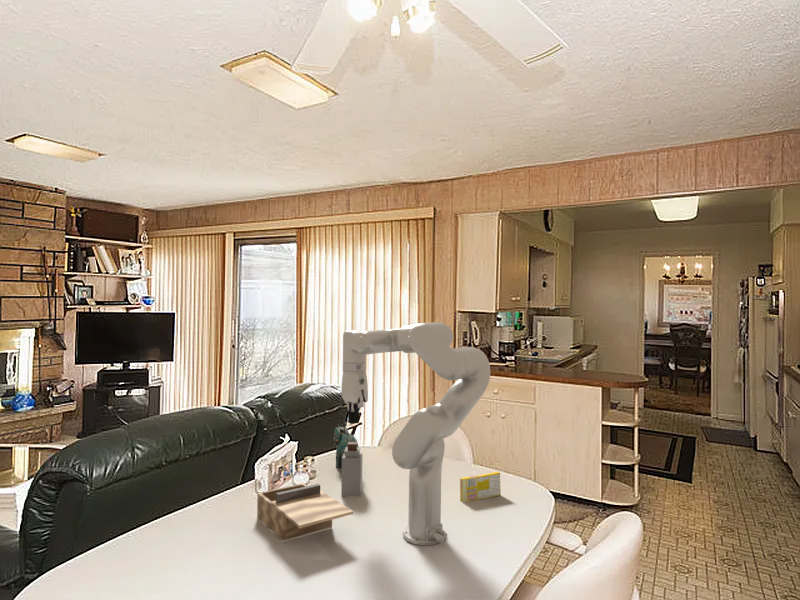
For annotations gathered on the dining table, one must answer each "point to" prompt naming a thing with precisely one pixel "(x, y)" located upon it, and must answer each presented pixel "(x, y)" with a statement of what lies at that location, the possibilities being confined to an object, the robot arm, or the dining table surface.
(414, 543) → the robot arm
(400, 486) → the dining table surface
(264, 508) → the wooden box
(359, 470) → the perfume bottle
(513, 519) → the dining table surface
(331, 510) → the sliding wooden box lid
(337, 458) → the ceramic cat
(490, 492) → the candy box
